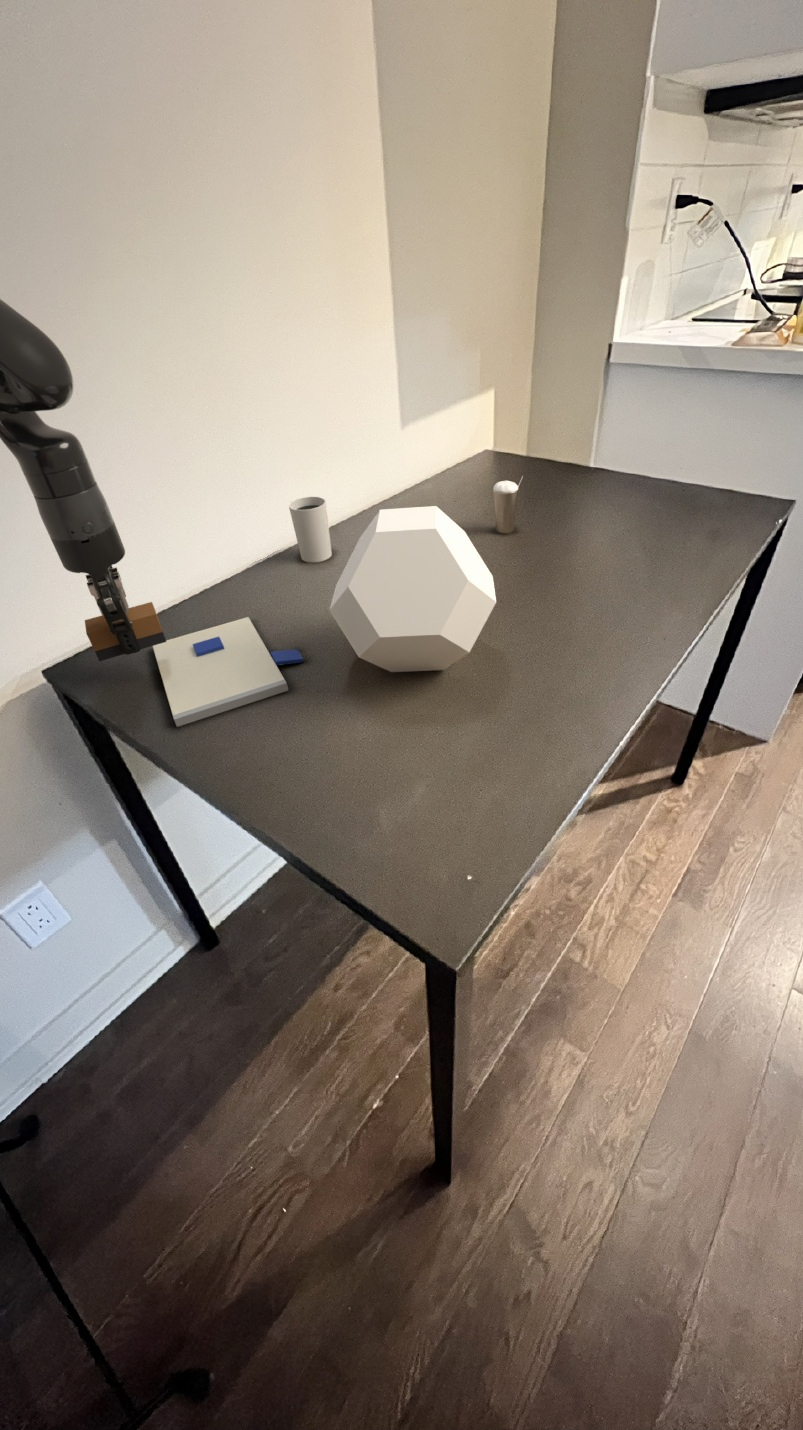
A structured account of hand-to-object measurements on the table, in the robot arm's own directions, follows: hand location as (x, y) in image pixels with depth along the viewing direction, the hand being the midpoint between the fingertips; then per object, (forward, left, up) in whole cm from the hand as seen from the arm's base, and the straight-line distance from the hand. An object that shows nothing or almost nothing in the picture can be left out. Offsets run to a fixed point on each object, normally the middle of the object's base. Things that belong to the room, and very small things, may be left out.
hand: (130, 643), depth 87 cm
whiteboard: (+10, -4, -5) cm, 12 cm away
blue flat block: (+10, 0, -4) cm, 11 cm away
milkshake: (+70, +13, -6) cm, 71 cm away
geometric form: (+36, -17, -6) cm, 40 cm away
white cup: (+35, +24, -6) cm, 43 cm away
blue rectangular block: (+19, -8, -5) cm, 21 cm away
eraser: (0, 0, 0) cm, 0 cm away
